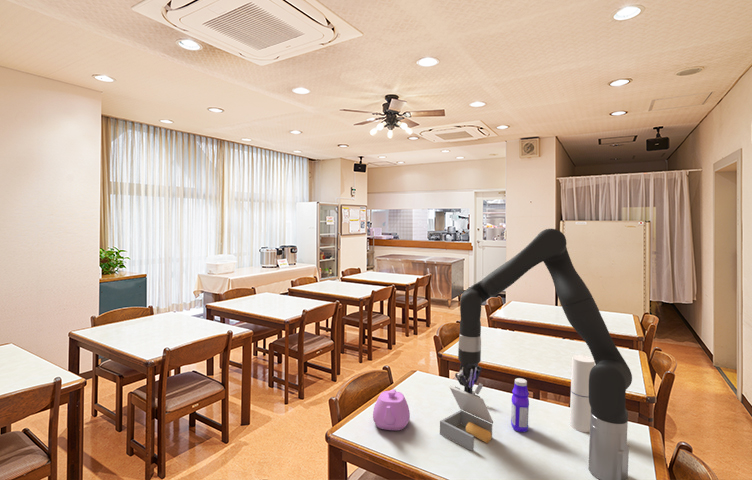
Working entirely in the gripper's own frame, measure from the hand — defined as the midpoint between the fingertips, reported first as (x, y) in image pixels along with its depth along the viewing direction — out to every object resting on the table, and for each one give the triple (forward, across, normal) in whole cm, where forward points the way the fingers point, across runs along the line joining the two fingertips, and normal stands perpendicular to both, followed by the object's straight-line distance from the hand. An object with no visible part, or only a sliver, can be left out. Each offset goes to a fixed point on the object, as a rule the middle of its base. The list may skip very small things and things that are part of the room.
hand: (468, 396), depth 130 cm
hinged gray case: (+13, +2, +1) cm, 13 cm away
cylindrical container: (+13, -35, +24) cm, 45 cm away
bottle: (+13, -17, +10) cm, 24 cm away
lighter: (+13, -21, -12) cm, 27 cm away
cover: (+3, 0, +1) cm, 3 cm away
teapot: (+13, +17, -20) cm, 30 cm away
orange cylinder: (+13, 0, +4) cm, 13 cm away
